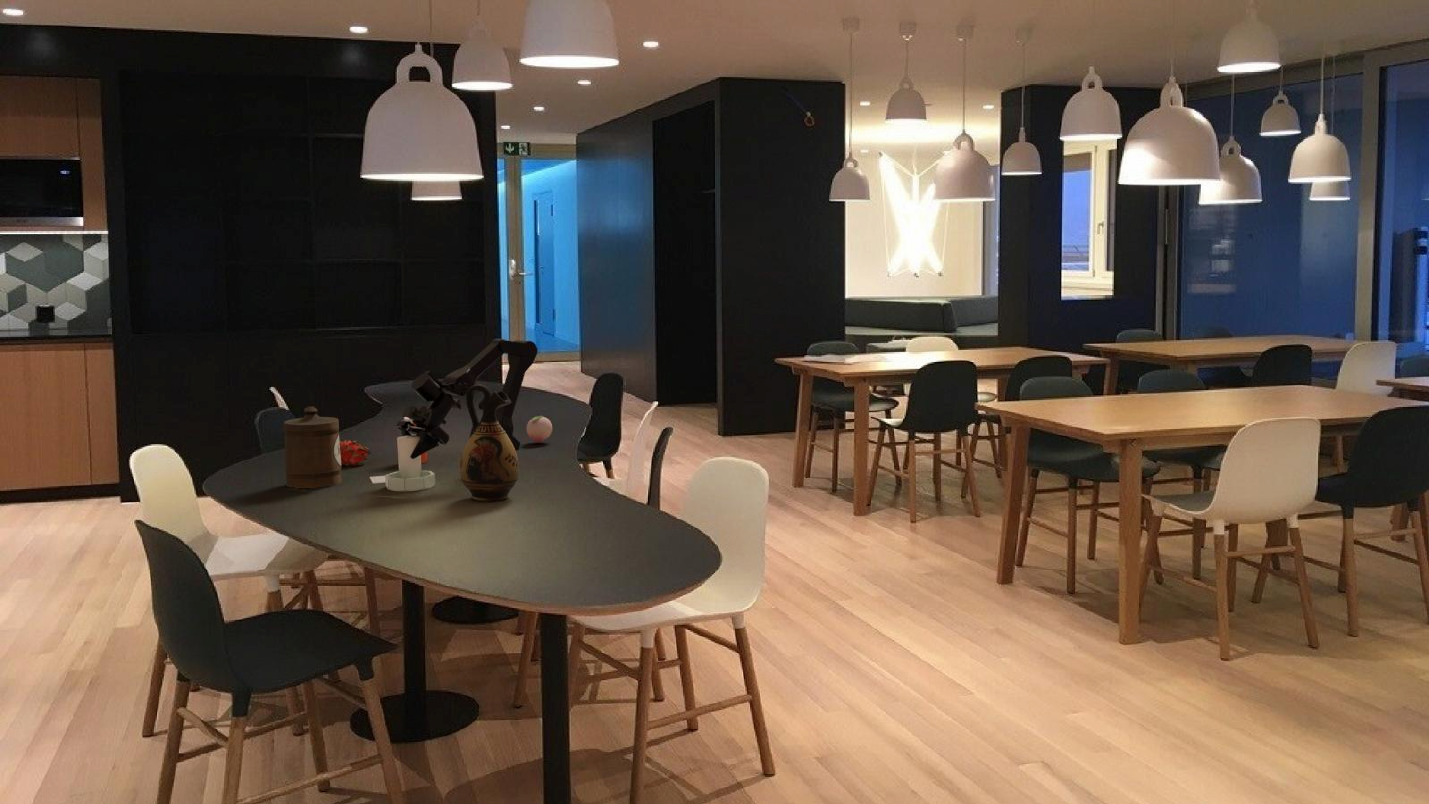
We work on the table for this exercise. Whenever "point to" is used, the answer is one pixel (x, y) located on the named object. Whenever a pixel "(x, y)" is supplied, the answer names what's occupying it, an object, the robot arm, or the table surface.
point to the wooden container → (312, 451)
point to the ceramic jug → (488, 450)
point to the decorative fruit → (539, 428)
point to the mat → (378, 479)
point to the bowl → (410, 482)
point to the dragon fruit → (352, 453)
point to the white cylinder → (408, 457)
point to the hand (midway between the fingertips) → (405, 456)
